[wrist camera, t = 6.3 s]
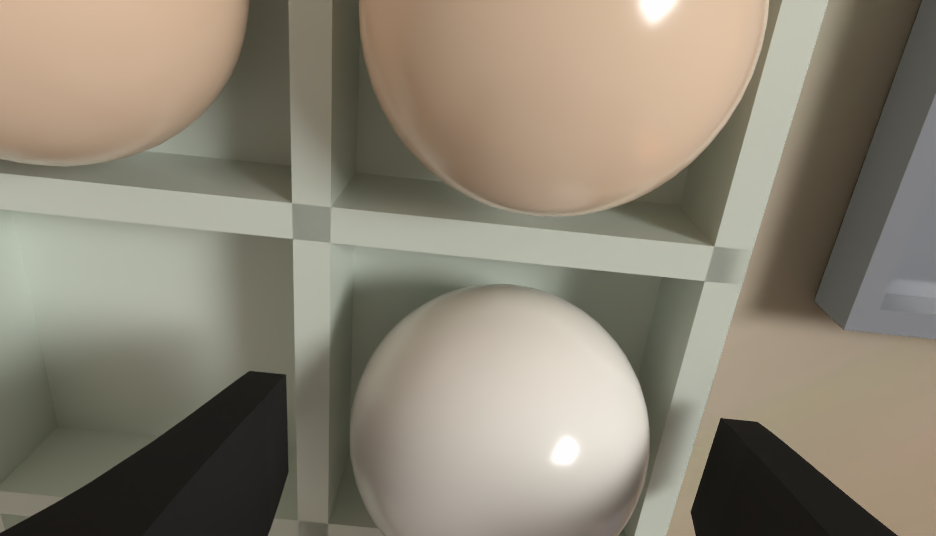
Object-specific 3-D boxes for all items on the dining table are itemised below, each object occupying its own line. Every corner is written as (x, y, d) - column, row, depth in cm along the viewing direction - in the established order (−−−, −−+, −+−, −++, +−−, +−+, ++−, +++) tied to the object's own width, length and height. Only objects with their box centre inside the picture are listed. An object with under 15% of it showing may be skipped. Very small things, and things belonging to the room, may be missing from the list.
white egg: (594, 459, 14) (644, 685, 10) (371, 436, 14) (315, 653, 10) (641, 254, 12) (733, 415, 8) (381, 227, 12) (315, 372, 8)
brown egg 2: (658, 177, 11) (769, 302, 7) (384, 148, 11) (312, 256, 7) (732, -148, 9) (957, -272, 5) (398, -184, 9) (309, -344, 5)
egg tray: (581, 664, 18) (595, 768, 16) (92, 617, 18) (31, 714, 15) (809, -217, 10) (915, -286, 7) (-107, -317, 9) (-307, -419, 7)
